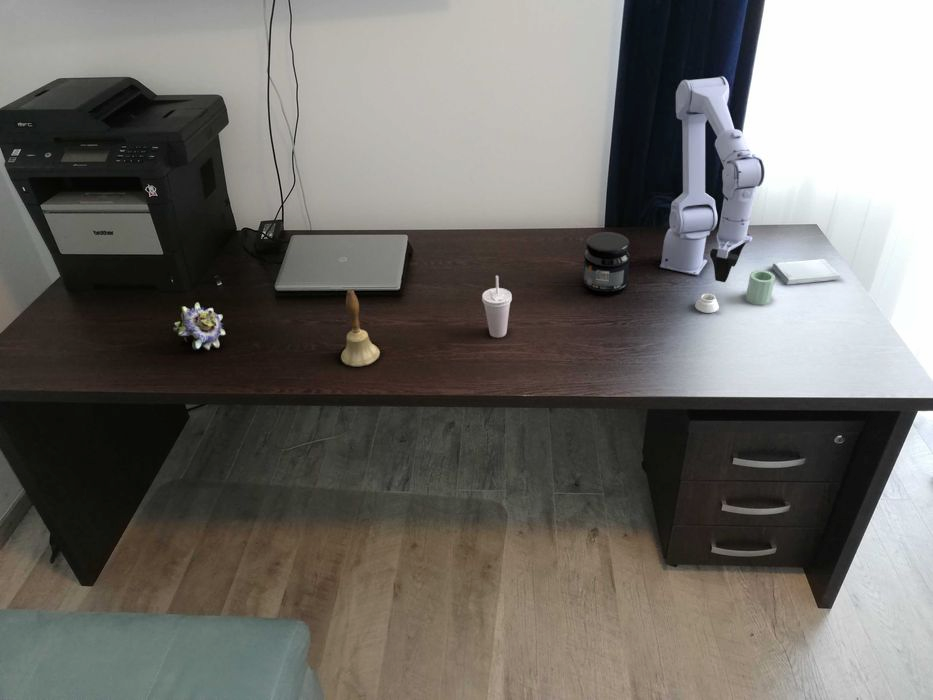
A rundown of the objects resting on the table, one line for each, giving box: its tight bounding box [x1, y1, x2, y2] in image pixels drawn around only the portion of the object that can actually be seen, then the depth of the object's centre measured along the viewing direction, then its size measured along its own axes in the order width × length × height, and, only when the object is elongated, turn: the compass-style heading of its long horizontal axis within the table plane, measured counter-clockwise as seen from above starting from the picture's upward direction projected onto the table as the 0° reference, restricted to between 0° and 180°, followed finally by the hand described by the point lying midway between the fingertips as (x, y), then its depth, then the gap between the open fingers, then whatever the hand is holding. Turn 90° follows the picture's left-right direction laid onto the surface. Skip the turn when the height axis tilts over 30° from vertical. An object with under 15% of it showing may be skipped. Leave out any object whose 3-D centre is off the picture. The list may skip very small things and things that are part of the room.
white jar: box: [694, 293, 720, 314], centre depth 160 cm, size 5×3×5 cm
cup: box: [745, 269, 776, 306], centre depth 161 cm, size 5×5×6 cm
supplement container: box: [582, 231, 631, 296], centre depth 168 cm, size 10×10×12 cm
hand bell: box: [340, 289, 381, 368], centre depth 149 cm, size 8×8×16 cm
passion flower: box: [171, 302, 226, 351], centre depth 159 cm, size 11×11×12 cm
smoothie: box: [481, 275, 513, 338], centre depth 154 cm, size 6×6×14 cm
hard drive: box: [771, 258, 841, 285], centre depth 170 cm, size 2×8×12 cm
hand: (725, 272), depth 157 cm, fingers open, 7 cm apart
